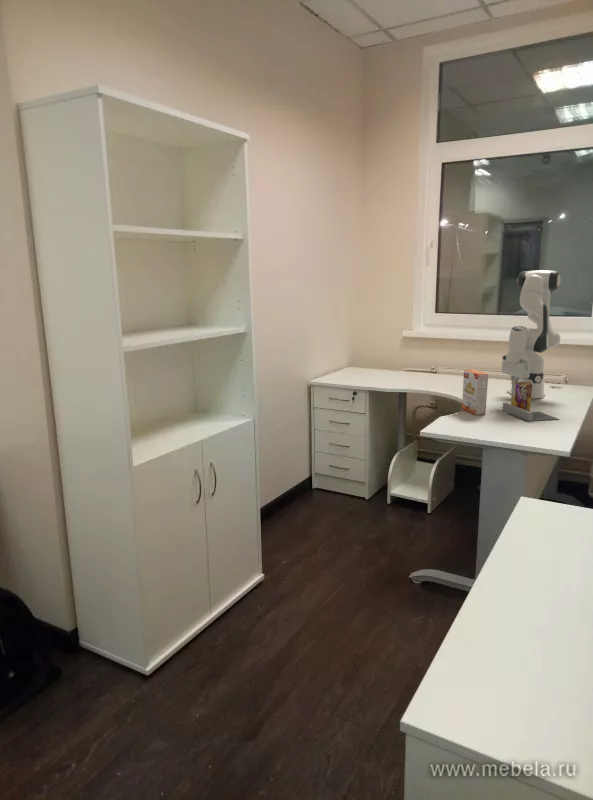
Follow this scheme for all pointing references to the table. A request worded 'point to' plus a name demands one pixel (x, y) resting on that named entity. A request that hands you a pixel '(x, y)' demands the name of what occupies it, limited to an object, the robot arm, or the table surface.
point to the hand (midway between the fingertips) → (514, 384)
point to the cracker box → (474, 392)
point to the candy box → (521, 395)
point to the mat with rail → (526, 414)
